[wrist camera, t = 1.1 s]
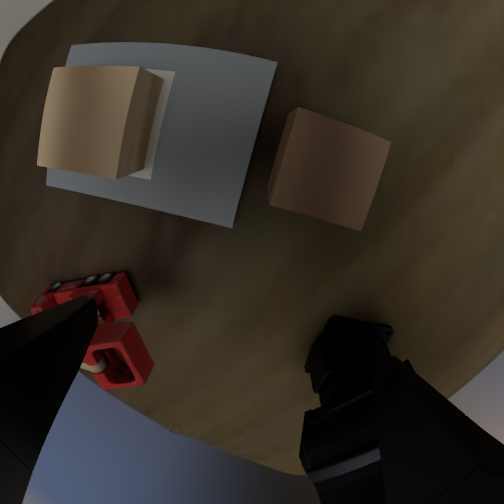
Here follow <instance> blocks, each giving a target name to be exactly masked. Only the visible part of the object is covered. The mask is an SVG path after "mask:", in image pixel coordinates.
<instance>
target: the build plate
mask: <svg viewBox="0 0 504 504" xmlns="http://www.w3.org/2000/svg"><path fill="white" fill-rule="evenodd" d="M277 63H278V62H274V61H270V60H266V59H262V58H258V57H254V56H249V55H244V54H239V53H234V52H229V51H223V50H217V49H210V48H203V47H195V46H186V45H176V44H163V43H140V42H114V43H92V44H80V45H72V46H71V49H70V52H69V55H68V59H67V62H66V66H65V67H72V66H136V67H141V68H143V69H145V70H147V71H149V72H151V73H153V74H155V75H157V76H159V77H161V78H163V79H164V82H163V85H162V89H161V93H160V96H159V100H158V104H157V108H156V112H155V117H154V121H153V125H152V130H151V134H150V139H149V144H148V149H147V154H146V160H145V165H144V169H143V170H141V171H138V172H135V173H133V174H130V175H127V176H125V177H122V178H120V179H117V180H113V179H108V178H103V177H98V176H93V175H88V174H83V173H77V172H72V171H66V170H61V169H55V168H49V167H48V168H47V183H46V185H48V186H53V187H57V188H62V189H66V190H71V191H76V192H80V193H85V194H89V195H94V196H98V197H102V198H107V199H111V200H116V201H120V202H124V203H129V204H133V205H137V206H142V207H146V208H150V209H154V210H159V211H163V212H167V213H171V214H175V215H179V216H184V217H188V218H192V219H196V220H200V221H204V222H208V223H212V224H216V225H220V226H224V227H228V228H232V227H233V223H234V219H235V215H236V211H237V207H238V203H239V199H240V196H241V192H242V188H243V184H244V180H245V177H246V173H247V169H248V165H249V162H250V158H251V154H252V151H253V147H254V143H255V140H256V136H257V133H258V129H259V125H260V122H261V118H262V115H263V111H264V108H265V104H266V101H267V97H268V94H269V90H270V87H271V84H272V80H273V77H274V73H275V70H276V67H277Z"/></svg>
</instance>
